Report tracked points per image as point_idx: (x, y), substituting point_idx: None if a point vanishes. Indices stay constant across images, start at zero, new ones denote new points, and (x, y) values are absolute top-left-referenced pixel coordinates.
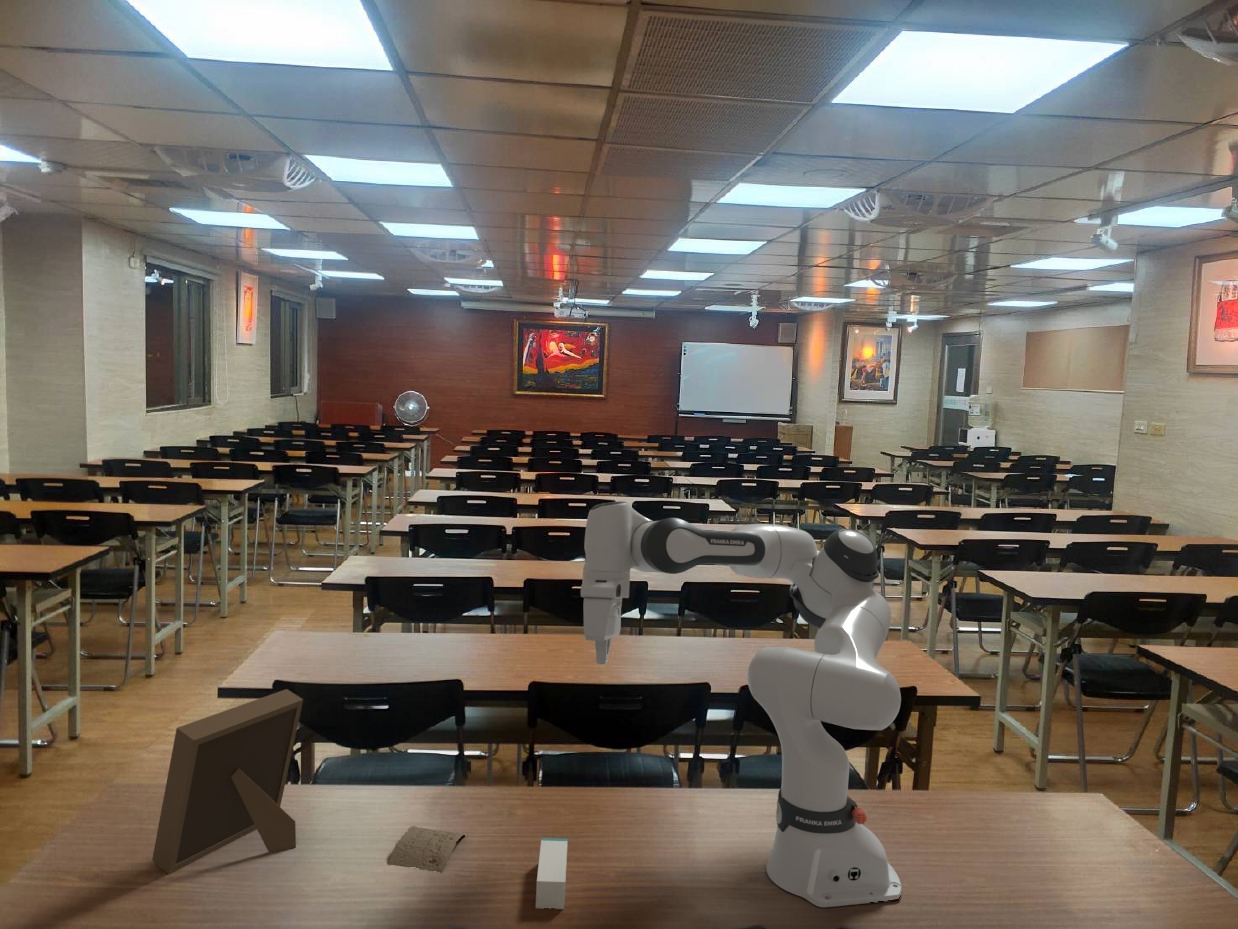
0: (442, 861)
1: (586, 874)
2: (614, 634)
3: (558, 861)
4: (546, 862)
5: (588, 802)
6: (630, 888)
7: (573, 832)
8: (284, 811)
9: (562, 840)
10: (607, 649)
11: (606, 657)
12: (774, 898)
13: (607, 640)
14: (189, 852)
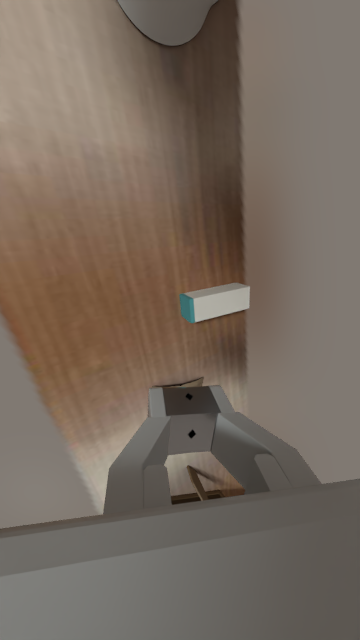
0: (198, 382)
1: (192, 273)
2: (143, 538)
3: (224, 298)
4: (226, 308)
5: (44, 298)
6: (208, 230)
7: (123, 300)
8: (199, 494)
9: (192, 303)
10: (161, 439)
11: (211, 400)
12: (210, 56)
13: (284, 483)
14: (214, 497)
